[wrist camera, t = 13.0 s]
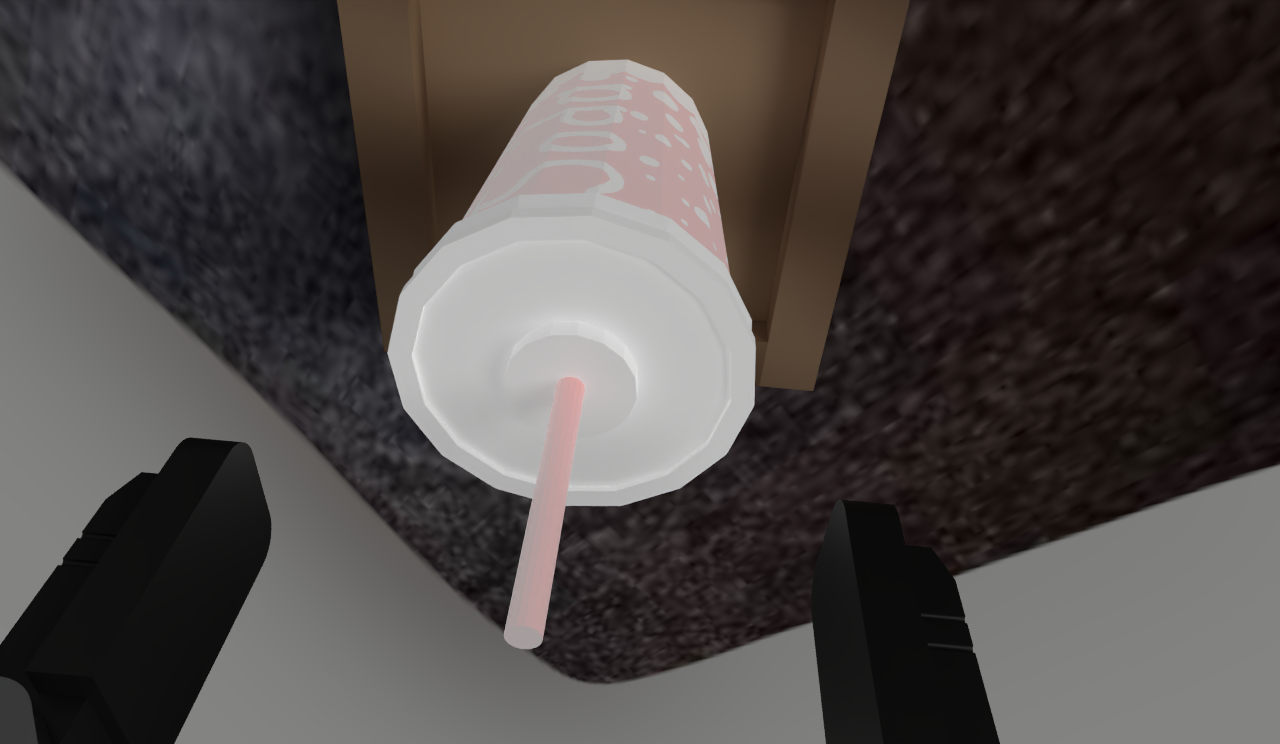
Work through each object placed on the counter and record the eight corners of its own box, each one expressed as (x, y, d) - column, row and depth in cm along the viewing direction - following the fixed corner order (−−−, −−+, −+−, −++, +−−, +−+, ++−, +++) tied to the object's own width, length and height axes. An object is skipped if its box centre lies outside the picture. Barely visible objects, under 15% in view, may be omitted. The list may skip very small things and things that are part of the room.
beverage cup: (766, 47, 20) (841, 498, 9) (714, 276, 24) (723, 792, 13) (495, 3, 20) (230, 411, 9) (487, 241, 24) (294, 737, 12)
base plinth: (371, -164, 20) (317, -140, 17) (899, -117, 20) (930, -84, 17) (416, 284, 27) (384, 351, 25) (802, 319, 27) (812, 391, 25)
